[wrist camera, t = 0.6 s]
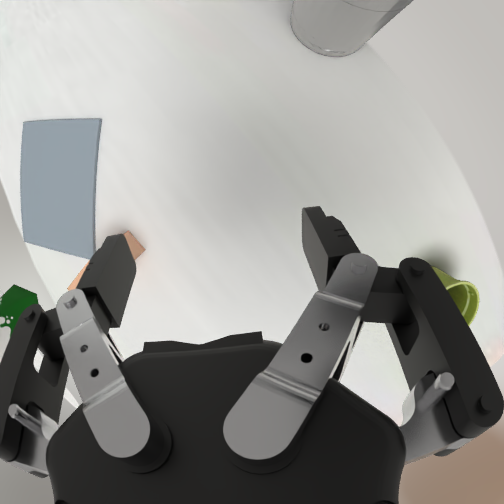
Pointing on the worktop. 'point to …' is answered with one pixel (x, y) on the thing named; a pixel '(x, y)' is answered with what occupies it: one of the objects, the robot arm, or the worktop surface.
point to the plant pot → (461, 294)
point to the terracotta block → (135, 250)
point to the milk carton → (13, 312)
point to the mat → (60, 184)
